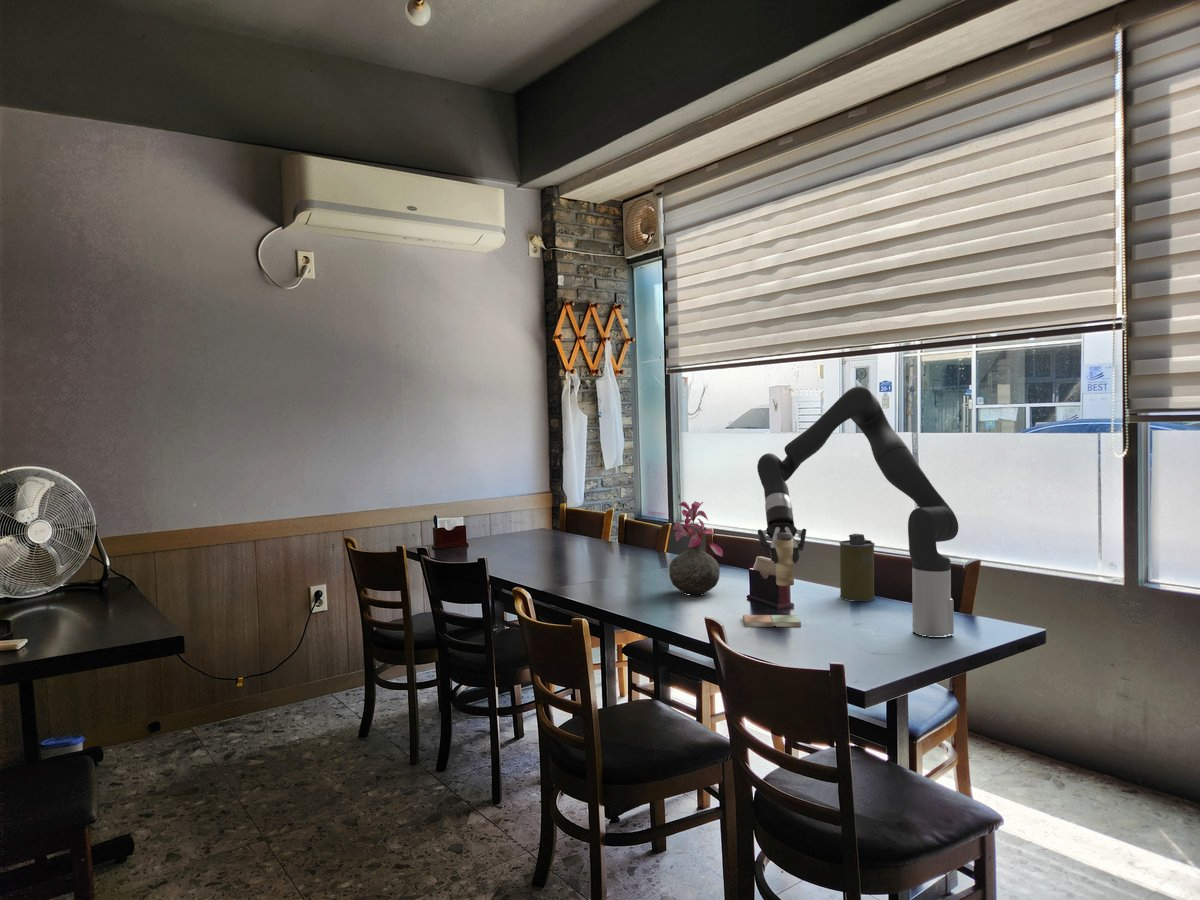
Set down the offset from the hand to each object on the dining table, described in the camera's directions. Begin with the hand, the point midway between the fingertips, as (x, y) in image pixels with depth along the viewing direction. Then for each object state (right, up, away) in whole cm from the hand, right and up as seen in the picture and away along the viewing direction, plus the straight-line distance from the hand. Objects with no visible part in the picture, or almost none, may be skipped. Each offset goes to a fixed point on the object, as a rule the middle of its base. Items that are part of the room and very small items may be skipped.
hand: (785, 561), depth 217 cm
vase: (-20, -16, +40) cm, 47 cm away
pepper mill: (0, -7, +2) cm, 7 cm away
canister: (+30, -16, +29) cm, 45 cm away
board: (-3, -17, +3) cm, 18 cm away
